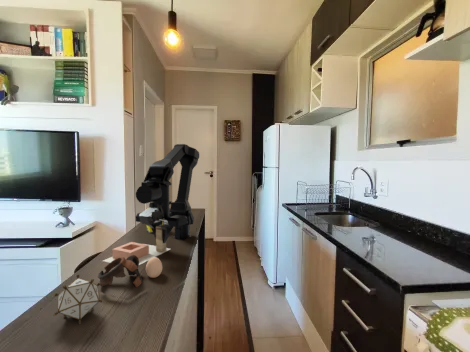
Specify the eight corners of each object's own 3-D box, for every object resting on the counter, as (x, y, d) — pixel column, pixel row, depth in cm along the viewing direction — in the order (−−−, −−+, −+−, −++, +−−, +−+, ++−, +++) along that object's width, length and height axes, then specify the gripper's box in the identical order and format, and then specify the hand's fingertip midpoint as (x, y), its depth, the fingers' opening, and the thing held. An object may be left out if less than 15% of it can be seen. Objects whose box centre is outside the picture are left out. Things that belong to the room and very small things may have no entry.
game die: (75, 330, 52) (73, 282, 57) (113, 314, 53) (108, 268, 57) (40, 336, 44) (41, 279, 49) (86, 317, 45) (83, 263, 49)
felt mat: (143, 245, 95) (143, 243, 95) (171, 250, 89) (171, 248, 89) (102, 262, 78) (102, 260, 78) (132, 269, 73) (132, 268, 73)
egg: (142, 280, 67) (142, 260, 66) (150, 273, 71) (150, 254, 71) (158, 281, 66) (157, 261, 66) (165, 274, 70) (164, 254, 70)
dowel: (160, 248, 89) (160, 224, 89) (166, 250, 88) (166, 225, 88) (155, 251, 87) (155, 226, 86) (161, 252, 86) (161, 227, 85)
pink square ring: (131, 250, 88) (131, 241, 88) (148, 253, 85) (148, 245, 84) (112, 258, 80) (112, 249, 80) (130, 262, 77) (130, 252, 77)
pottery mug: (136, 297, 59) (116, 271, 57) (105, 309, 61) (85, 285, 59) (154, 264, 71) (138, 242, 69) (128, 275, 73) (111, 254, 70)
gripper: (122, 200, 83) (123, 245, 84) (167, 204, 75) (167, 254, 76) (146, 196, 93) (147, 236, 94) (188, 199, 86) (188, 243, 86)
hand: (161, 242), depth 87 cm, fingers closed on dowel, 2 cm apart
